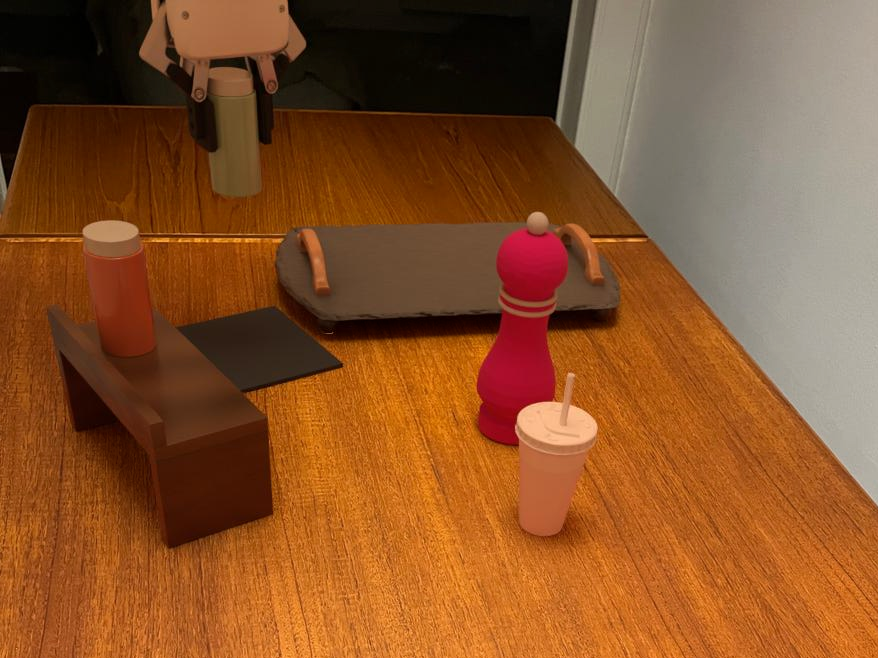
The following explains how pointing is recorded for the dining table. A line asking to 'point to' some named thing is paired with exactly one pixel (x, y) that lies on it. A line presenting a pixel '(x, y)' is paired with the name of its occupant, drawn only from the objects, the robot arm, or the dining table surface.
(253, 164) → the green shaker
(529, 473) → the smoothie
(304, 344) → the mat
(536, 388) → the pepper mill
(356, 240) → the serving tray
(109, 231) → the terracotta shaker
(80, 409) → the spice shelf
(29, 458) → the dining table surface
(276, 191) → the dining table surface
